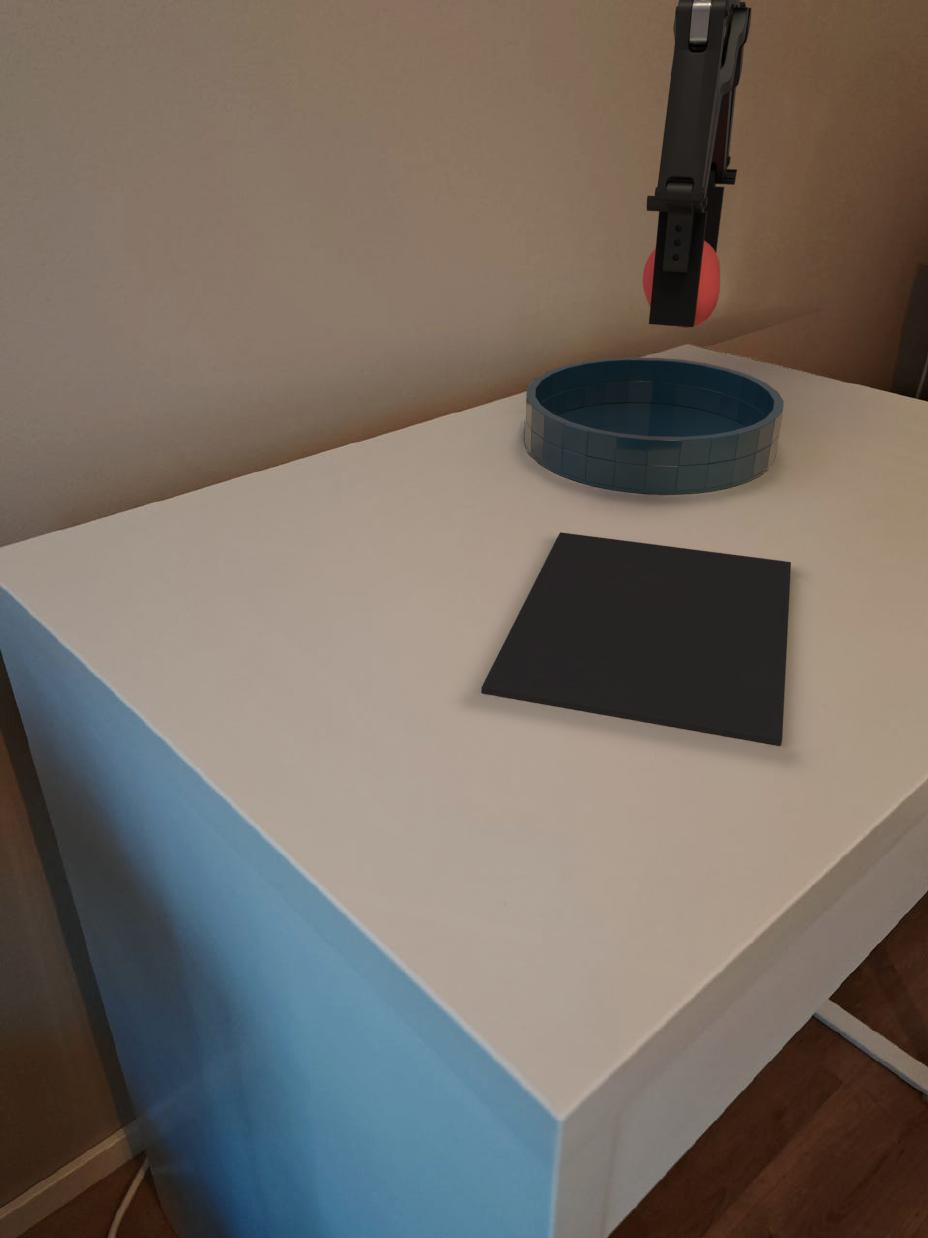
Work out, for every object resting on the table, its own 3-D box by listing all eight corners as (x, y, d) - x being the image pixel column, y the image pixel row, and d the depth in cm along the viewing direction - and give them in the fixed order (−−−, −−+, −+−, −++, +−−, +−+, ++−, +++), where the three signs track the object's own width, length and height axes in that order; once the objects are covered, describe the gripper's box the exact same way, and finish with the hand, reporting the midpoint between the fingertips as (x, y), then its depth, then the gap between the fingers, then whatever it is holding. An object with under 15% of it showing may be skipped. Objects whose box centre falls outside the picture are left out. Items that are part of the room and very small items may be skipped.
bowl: (779, 414, 91) (787, 367, 89) (769, 508, 74) (779, 452, 71) (555, 394, 97) (556, 349, 94) (496, 476, 79) (497, 424, 77)
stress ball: (608, 343, 63) (641, 265, 58) (647, 265, 68) (680, 187, 63) (681, 375, 63) (720, 300, 58) (715, 295, 68) (754, 219, 62)
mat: (790, 566, 66) (791, 561, 65) (781, 746, 49) (782, 739, 49) (559, 536, 70) (559, 531, 70) (481, 693, 53) (481, 687, 53)
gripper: (684, -97, 62) (651, 266, 74) (622, -146, 44) (591, 345, 56) (806, -103, 60) (752, 272, 72) (793, -156, 42) (724, 356, 54)
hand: (682, 304), depth 64 cm, fingers closed on stress ball, 10 cm apart
